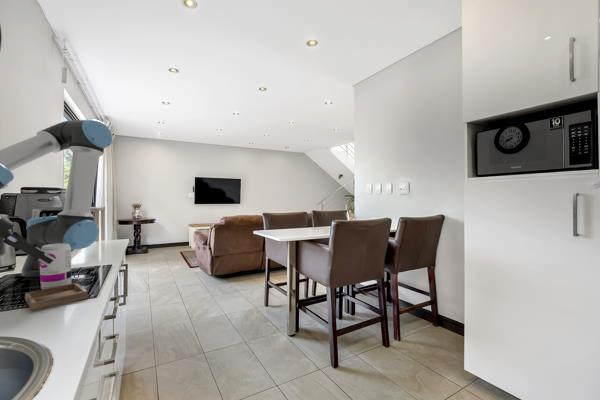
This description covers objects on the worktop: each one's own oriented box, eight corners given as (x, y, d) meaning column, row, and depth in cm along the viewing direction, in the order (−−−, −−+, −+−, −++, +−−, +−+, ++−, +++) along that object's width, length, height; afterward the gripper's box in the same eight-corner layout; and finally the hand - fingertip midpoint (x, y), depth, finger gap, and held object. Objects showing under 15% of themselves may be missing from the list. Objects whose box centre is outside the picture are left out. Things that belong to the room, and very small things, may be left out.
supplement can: (53, 292, 91) (52, 247, 91) (34, 290, 93) (33, 246, 92) (77, 284, 99) (76, 243, 99) (59, 282, 101) (58, 242, 100)
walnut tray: (25, 300, 84) (24, 293, 84) (76, 288, 94) (76, 282, 94) (32, 311, 77) (32, 303, 76) (87, 297, 87) (87, 291, 86)
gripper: (-27, 230, 89) (37, 266, 101) (-21, 239, 73) (53, 280, 86) (-3, 213, 93) (56, 250, 105) (7, 218, 77) (74, 260, 90)
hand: (55, 263), depth 95 cm, fingers open, 13 cm apart
